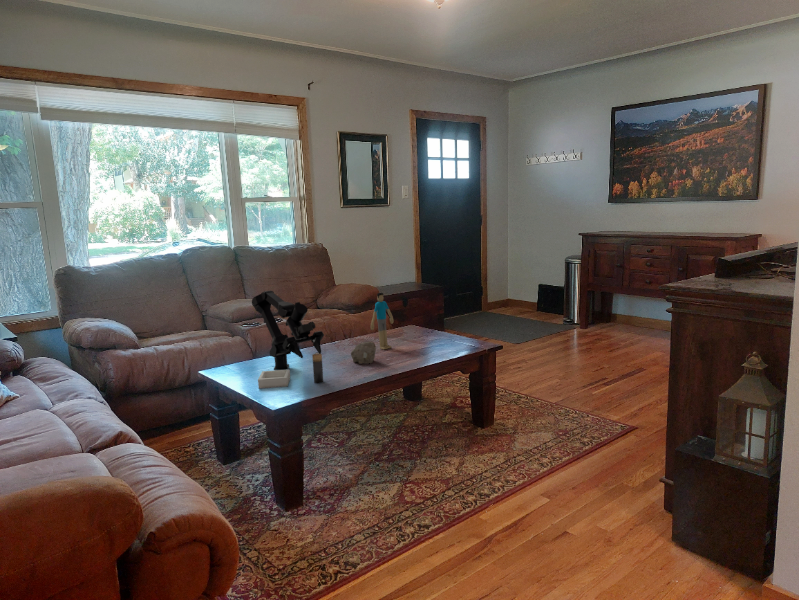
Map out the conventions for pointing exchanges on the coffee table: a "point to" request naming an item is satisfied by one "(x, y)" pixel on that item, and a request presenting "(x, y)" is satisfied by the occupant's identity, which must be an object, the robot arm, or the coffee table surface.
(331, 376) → the coffee table surface
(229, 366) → the coffee table surface
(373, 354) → the rock
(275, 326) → the robot arm
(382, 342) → the figurine
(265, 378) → the bin
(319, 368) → the cell
